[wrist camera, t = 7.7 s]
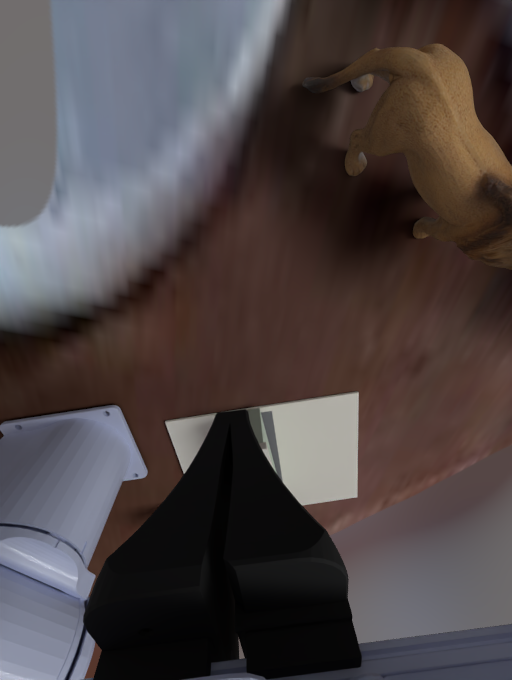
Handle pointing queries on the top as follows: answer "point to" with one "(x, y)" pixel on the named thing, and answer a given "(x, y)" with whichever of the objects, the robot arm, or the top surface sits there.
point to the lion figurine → (435, 145)
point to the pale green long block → (261, 433)
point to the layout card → (296, 444)
